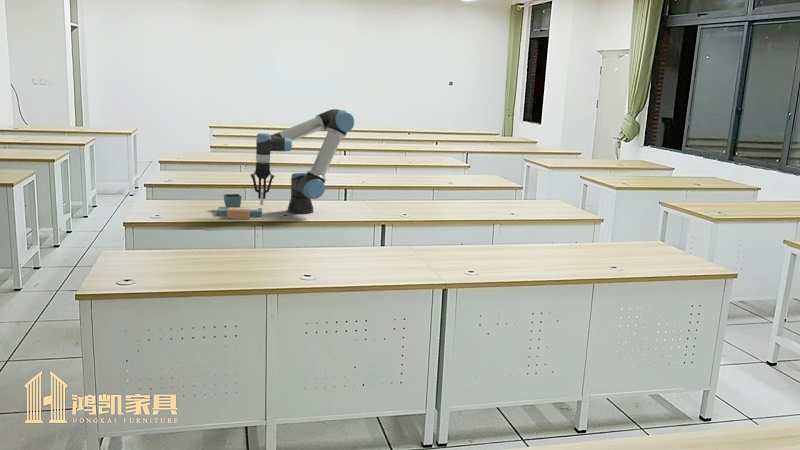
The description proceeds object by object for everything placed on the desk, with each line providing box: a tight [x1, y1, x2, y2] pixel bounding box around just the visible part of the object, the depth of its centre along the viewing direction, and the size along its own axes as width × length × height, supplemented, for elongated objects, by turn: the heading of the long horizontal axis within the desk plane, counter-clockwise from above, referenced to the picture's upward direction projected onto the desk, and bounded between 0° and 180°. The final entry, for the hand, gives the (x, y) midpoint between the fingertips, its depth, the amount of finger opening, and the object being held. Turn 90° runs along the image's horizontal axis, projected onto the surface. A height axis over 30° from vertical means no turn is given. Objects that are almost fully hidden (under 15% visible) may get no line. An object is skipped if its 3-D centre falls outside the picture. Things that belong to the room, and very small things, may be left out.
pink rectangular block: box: [226, 208, 251, 220], centre depth 372 cm, size 12×6×5 cm, turn 98°
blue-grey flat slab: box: [216, 206, 263, 218], centre depth 381 cm, size 24×11×3 cm, turn 98°
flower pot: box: [223, 193, 243, 207], centre depth 390 cm, size 9×9×9 cm
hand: (261, 204), depth 371 cm, fingers closed
